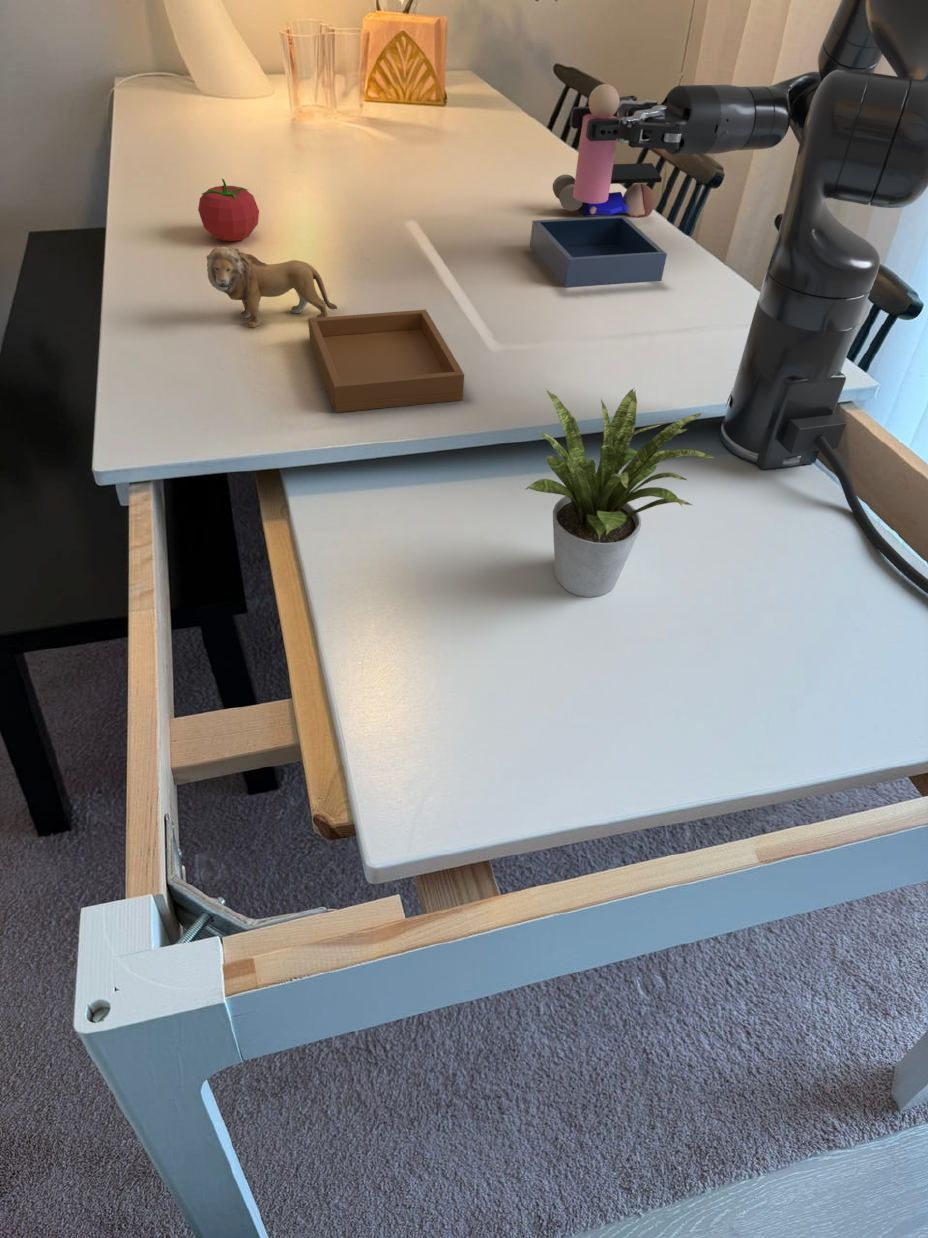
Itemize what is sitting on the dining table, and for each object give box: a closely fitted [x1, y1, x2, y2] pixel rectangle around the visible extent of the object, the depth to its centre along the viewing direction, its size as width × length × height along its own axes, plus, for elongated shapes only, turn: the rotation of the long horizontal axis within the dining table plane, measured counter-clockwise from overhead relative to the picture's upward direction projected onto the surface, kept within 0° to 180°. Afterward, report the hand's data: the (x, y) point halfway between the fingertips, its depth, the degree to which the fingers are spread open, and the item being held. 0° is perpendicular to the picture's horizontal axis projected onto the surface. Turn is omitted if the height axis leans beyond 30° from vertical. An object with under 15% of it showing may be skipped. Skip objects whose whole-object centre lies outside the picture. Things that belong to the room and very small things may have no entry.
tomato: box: [197, 178, 260, 242], centre depth 123 cm, size 8×8×8 cm
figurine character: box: [552, 162, 663, 218], centre depth 137 cm, size 7×8×15 cm
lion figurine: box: [206, 246, 338, 329], centre depth 106 cm, size 15×5×9 cm, turn 113°
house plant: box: [524, 388, 716, 598], centre depth 71 cm, size 14×14×16 cm
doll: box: [573, 83, 620, 204], centre depth 111 cm, size 4×4×13 cm
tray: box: [307, 309, 465, 414], centre depth 100 cm, size 16×14×3 cm
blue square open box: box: [529, 215, 668, 289], centre depth 123 cm, size 14×14×4 cm
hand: (580, 123), depth 109 cm, fingers closed on doll, 4 cm apart
